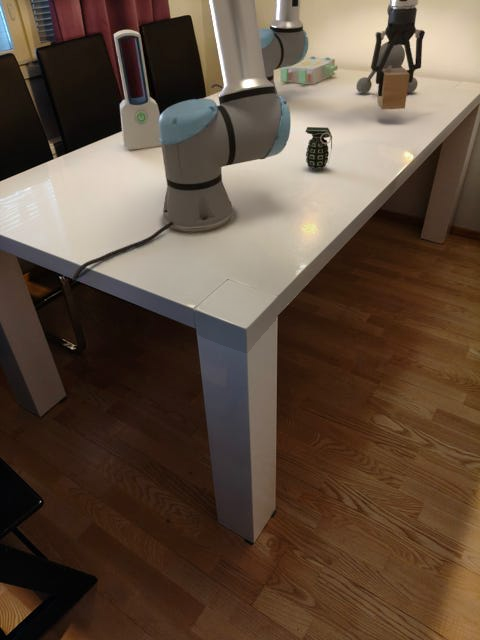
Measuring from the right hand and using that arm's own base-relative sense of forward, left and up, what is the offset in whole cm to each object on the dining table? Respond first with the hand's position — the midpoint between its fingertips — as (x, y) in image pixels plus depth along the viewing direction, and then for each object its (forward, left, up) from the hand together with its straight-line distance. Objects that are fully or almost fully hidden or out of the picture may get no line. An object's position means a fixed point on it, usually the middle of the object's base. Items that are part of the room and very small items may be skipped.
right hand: (392, 94), depth 151 cm
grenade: (+21, -42, -8) cm, 48 cm away
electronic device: (-25, -74, -8) cm, 78 cm away
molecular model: (-23, +20, -8) cm, 31 cm away
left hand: (+63, -68, +33) cm, 99 cm away
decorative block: (-66, +13, -8) cm, 68 cm away
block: (0, 0, -3) cm, 3 cm away
